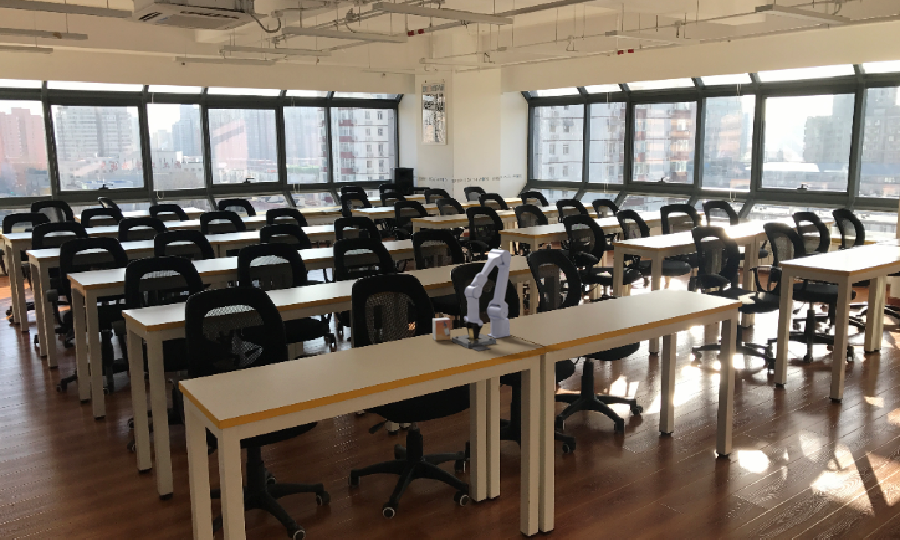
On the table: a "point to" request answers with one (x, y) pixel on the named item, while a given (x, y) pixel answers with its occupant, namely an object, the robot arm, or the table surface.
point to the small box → (441, 329)
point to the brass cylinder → (471, 335)
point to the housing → (473, 341)
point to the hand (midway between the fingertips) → (473, 337)
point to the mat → (480, 348)
